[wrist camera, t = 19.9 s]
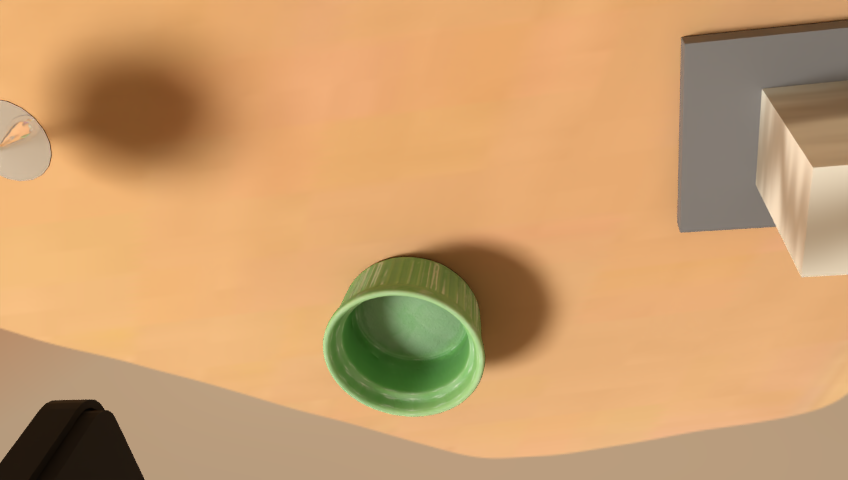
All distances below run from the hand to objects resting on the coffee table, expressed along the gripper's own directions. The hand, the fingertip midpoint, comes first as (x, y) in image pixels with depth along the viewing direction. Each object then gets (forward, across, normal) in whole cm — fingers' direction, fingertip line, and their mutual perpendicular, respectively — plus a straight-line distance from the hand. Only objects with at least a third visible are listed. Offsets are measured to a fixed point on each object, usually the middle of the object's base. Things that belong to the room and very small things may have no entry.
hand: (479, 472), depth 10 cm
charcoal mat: (+30, -13, +10) cm, 34 cm away
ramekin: (+31, +8, +20) cm, 37 cm away
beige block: (+29, -13, +10) cm, 34 cm away
